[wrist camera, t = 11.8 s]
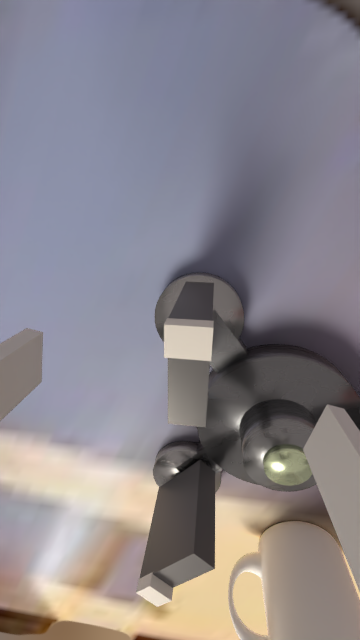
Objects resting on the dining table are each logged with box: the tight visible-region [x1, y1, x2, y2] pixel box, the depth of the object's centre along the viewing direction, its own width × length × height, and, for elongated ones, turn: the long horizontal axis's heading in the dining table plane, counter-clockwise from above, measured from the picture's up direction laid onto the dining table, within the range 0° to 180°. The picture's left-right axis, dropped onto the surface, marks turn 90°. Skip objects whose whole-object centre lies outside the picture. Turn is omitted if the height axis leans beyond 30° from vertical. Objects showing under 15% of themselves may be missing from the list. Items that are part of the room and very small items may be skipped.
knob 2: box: [136, 460, 215, 607], centre depth 22 cm, size 6×2×8 cm, turn 137°
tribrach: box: [153, 273, 360, 492], centre depth 21 cm, size 25×24×6 cm
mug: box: [228, 521, 360, 640], centre depth 25 cm, size 9×12×11 cm
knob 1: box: [164, 282, 214, 428], centre depth 16 cm, size 6×2×8 cm, turn 179°
